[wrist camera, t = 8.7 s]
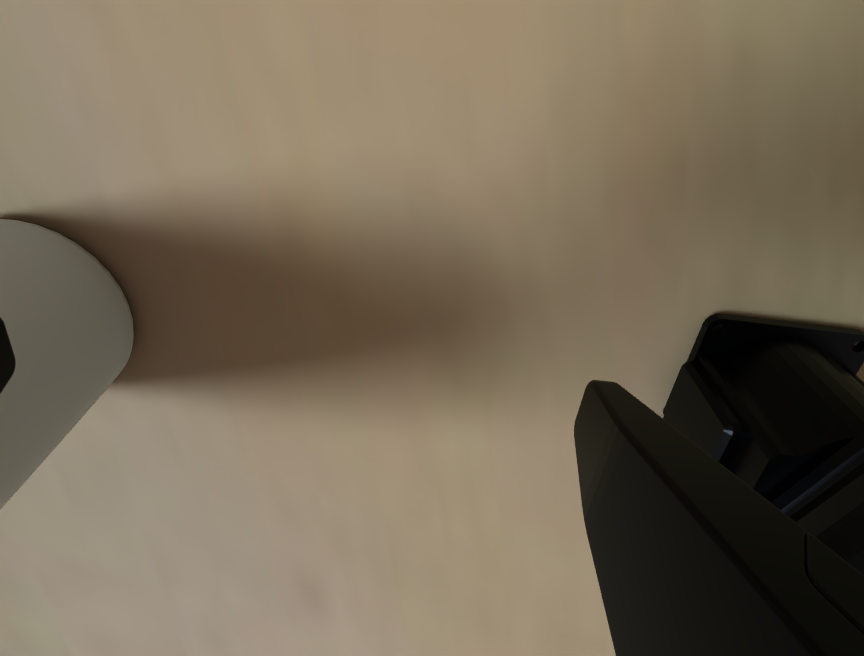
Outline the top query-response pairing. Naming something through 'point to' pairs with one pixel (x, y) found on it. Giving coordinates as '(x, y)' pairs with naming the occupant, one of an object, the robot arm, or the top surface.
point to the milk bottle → (53, 343)
